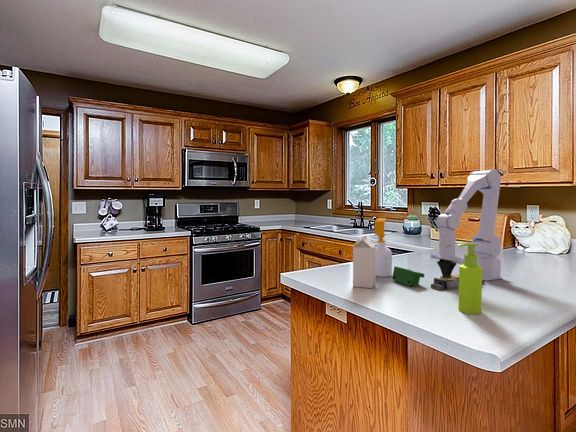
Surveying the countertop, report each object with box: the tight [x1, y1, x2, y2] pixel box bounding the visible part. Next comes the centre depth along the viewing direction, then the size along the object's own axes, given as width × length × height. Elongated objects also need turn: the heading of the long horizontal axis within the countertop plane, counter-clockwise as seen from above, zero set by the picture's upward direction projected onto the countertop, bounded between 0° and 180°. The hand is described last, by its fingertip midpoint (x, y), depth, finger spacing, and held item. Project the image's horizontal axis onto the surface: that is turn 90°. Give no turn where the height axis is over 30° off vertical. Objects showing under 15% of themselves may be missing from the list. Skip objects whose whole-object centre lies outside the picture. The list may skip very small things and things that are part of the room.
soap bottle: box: [374, 217, 393, 278], centre depth 144 cm, size 9×9×25 cm
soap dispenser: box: [456, 242, 483, 315], centre depth 98 cm, size 6×7×20 cm
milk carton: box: [352, 234, 377, 289], centre depth 127 cm, size 7×7×19 cm
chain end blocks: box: [430, 277, 486, 291], centre depth 127 cm, size 23×6×3 cm, turn 112°
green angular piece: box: [391, 266, 426, 288], centre depth 131 cm, size 12×6×9 cm, turn 15°
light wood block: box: [439, 273, 459, 280], centre depth 128 cm, size 9×4×3 cm, turn 112°
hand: (446, 279), depth 131 cm, fingers closed
